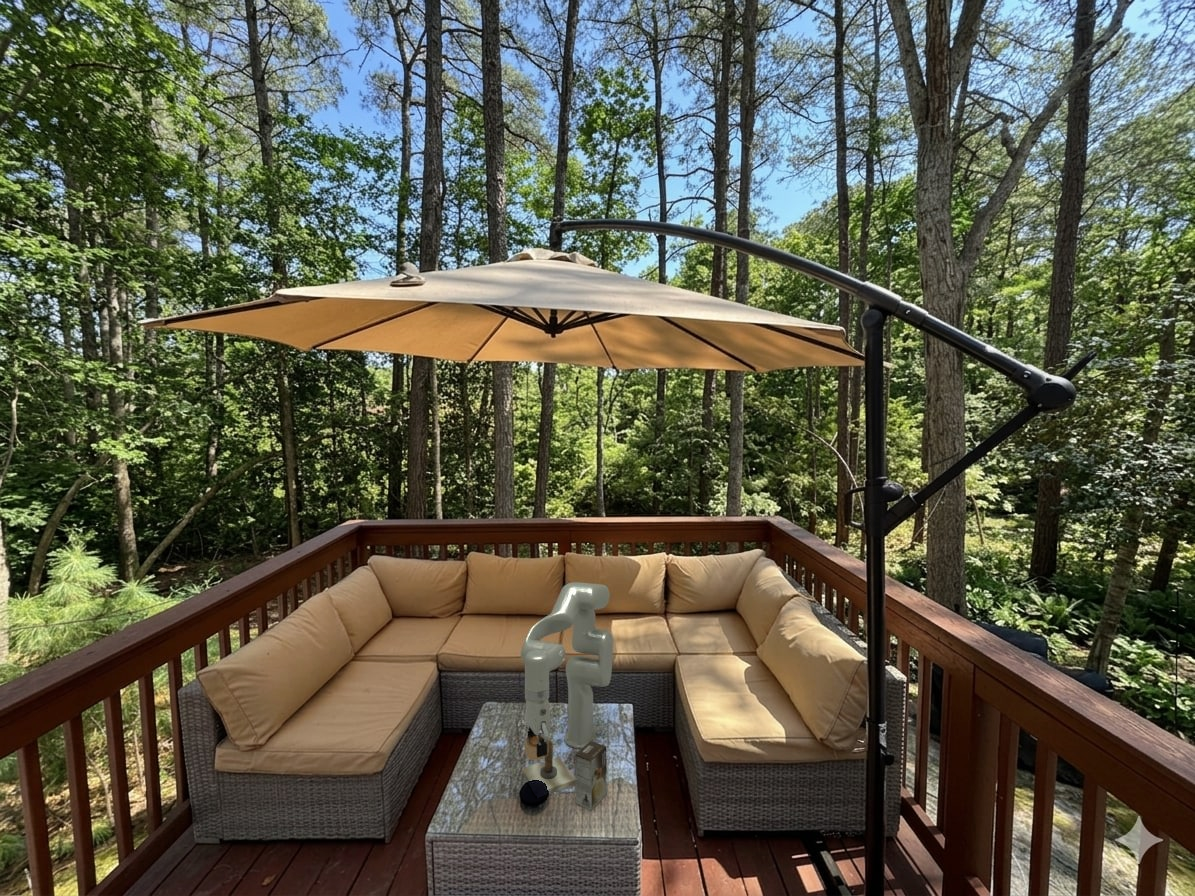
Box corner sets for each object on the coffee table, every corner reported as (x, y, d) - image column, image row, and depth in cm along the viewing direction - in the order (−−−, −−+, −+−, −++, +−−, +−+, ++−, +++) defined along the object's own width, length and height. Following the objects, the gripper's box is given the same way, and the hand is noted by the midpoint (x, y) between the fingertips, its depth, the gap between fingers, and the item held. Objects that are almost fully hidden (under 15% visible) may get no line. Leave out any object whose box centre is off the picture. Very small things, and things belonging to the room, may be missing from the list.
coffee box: (590, 787, 172) (590, 739, 172) (607, 794, 169) (607, 745, 168) (574, 803, 164) (575, 753, 164) (591, 811, 161) (592, 760, 161)
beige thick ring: (543, 743, 166) (543, 731, 165) (551, 755, 159) (551, 742, 159) (522, 749, 162) (522, 737, 162) (530, 762, 156) (530, 749, 156)
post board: (559, 762, 185) (559, 725, 185) (576, 785, 173) (576, 746, 173) (521, 774, 179) (521, 735, 178) (536, 799, 166) (537, 758, 166)
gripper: (559, 702, 154) (559, 761, 155) (537, 678, 170) (538, 731, 170) (536, 708, 151) (536, 768, 151) (516, 683, 166) (516, 737, 167)
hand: (537, 748), depth 161 cm, fingers closed on beige thick ring, 7 cm apart
